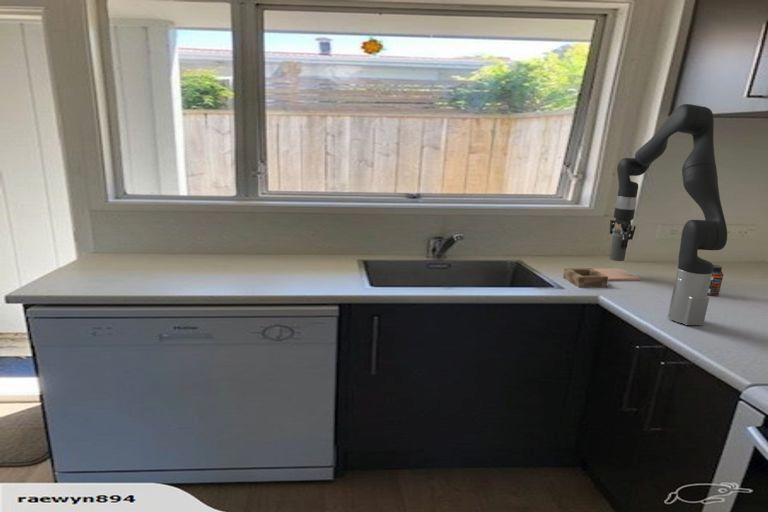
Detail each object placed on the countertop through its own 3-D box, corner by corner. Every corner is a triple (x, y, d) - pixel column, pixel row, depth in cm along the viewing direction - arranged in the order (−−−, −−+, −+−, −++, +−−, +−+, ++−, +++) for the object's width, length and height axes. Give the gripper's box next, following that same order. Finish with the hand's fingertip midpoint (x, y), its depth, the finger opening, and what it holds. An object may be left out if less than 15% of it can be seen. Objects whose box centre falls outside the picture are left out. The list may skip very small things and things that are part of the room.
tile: (639, 280, 190) (640, 278, 190) (608, 280, 188) (608, 278, 188) (619, 270, 203) (619, 268, 203) (589, 270, 202) (590, 268, 201)
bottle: (608, 260, 193) (614, 225, 189) (609, 257, 198) (614, 223, 194) (624, 262, 190) (630, 226, 186) (624, 258, 195) (630, 224, 191)
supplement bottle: (710, 297, 172) (716, 268, 169) (696, 291, 178) (702, 264, 175) (722, 296, 174) (729, 267, 171) (708, 290, 179) (714, 263, 176)
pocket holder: (606, 286, 181) (608, 277, 180) (578, 287, 180) (579, 277, 179) (590, 277, 193) (591, 268, 191) (563, 277, 191) (564, 268, 190)
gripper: (645, 210, 182) (638, 251, 186) (623, 204, 195) (616, 242, 200) (627, 210, 181) (620, 251, 185) (606, 204, 194) (600, 243, 199)
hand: (618, 246), depth 192 cm, fingers closed on bottle, 5 cm apart
